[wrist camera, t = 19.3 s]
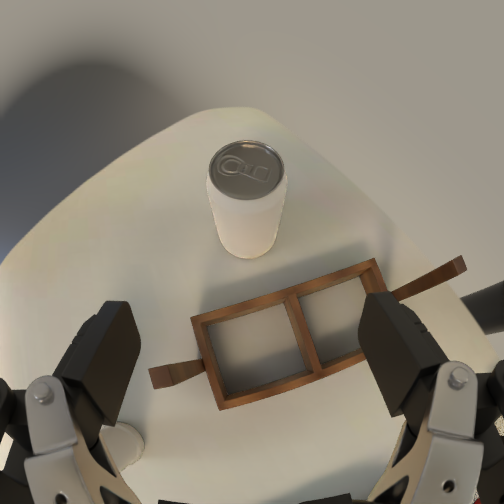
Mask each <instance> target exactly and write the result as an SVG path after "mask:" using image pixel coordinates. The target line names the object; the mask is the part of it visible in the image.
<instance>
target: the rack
mask: <svg viewBox="0 0 504 504" xmlns="http://www.w3.org/2000/svg"><path fill="white" fill-rule="evenodd" d="M466 270H467V268H466V265H465V262H464V260H463V258H462V256H461V255H460V256H458V257H457V258H455V259H453V260H451V261H449V262H447V263H446V264H444V265H442V266H440V267H438V268H437V269H435V270H433V271H431V272H429V273H427V274H425V275H424V276H422V277H420V278H418V279H416V280H414V281H412V282H410V283H408V284H406V285H404V286H402V287H400V288H398V289H396V290H394V291H392V292H391V293H392V294H393V295H394V297H395V298H396V299H397V301H401V300H403V299H406V298H408V297H411V296H413V295H416V294H418V293H420V292H423V291H425V290H427V289H430V288H432V287H434V286H436V285H439V284H441V283H443V282H445V281H447V280H449V279H452V278H454V277H456V276H458V275H459V274H461V273H463V272H465V271H466ZM358 276H360V279H361V281H362V284H363V286H364V289H365V292H366V294H367V295H368V294H369V293H374V292H384V291H388V290H387V288H386V285H385V282H384V280H383V277H382V275H381V272H380V270H379V268H378V265H377V263H376V260H375V258H372V259H370V260H367V261H364V262H362V263H359V264H356V265H353V266H350V267H348V268H345V269H342V270H339V271H336V272H334V273H331V274H328V275H325V276H322V277H319V278H316V279H313V280H310V281H307V282H304V283H301V284H298V285H295V286H292V287H289V288H286V289H283V290H280V291H277V292H274V293H270V294H267V295H264V296H261V297H258V298H254V299H251V300H248V301H245V302H241V303H238V304H235V305H231V306H228V307H225V308H221V309H218V310H214V311H211V312H207V313H204V314H200V315H197V316H193V317H190V319H191V322H192V326H193V329H194V333H195V337H196V340H197V343H198V347H199V350H200V354H201V357H202V359H197V360H192V361H186V362H181V363H175V364H168V365H163V366H159V367H154V368H150V369H148V371H149V374H150V377H151V381H152V384H153V387H154V389H160V388H165V387H170V386H174V385H176V384H179V383H181V382H183V381H185V380H187V379H189V378H192V377H194V376H196V375H198V374H200V373H202V372H204V371H206V373H207V376H208V379H209V382H210V385H211V388H212V391H213V394H214V397H215V400H216V403H217V406H218V409H219V411H221V410H225V409H229V408H233V407H237V406H240V405H244V404H248V403H251V402H255V401H258V400H261V399H265V398H268V397H271V396H274V395H277V394H280V393H283V392H286V391H289V390H292V389H295V388H298V387H300V386H303V385H306V384H309V383H311V382H314V381H316V380H319V379H322V378H324V377H327V376H329V375H331V374H334V373H336V372H339V371H341V370H343V369H345V368H348V367H350V366H352V365H354V364H357V363H359V362H361V361H363V360H365V359H366V357H365V355H364V353H363V351H362V349H361V348H359V349H357V350H355V351H352V352H350V353H348V354H345V355H343V356H341V357H338V358H336V359H334V360H331V361H329V362H326V363H324V364H321V365H320V362H319V359H318V356H317V353H316V350H315V347H314V344H313V341H312V338H311V335H310V332H309V329H308V326H307V323H306V321H305V318H304V315H303V312H302V309H301V306H300V303H299V301H298V298H299V297H302V296H305V295H308V294H311V293H314V292H317V291H320V290H322V289H325V288H328V287H331V286H334V285H336V284H339V283H342V282H345V281H347V280H350V279H353V278H355V277H358ZM281 303H284V305H285V308H286V310H287V313H288V316H289V319H290V322H291V325H292V328H293V331H294V334H295V337H296V340H297V343H298V346H299V349H300V351H301V354H302V357H303V360H304V363H305V366H306V369H307V370H306V371H303V372H300V373H297V374H294V375H292V376H289V377H286V378H283V379H280V380H277V381H274V382H271V383H268V384H264V385H261V386H258V387H255V388H251V389H248V390H244V391H241V392H237V393H233V394H230V395H228V394H227V391H226V388H225V385H224V382H223V379H222V376H221V373H220V369H219V366H218V363H217V360H216V357H215V354H214V350H213V347H212V344H211V340H210V337H209V334H208V330H207V327H206V326H209V325H213V324H216V323H220V322H223V321H227V320H230V319H233V318H237V317H240V316H243V315H247V314H250V313H253V312H256V311H260V310H263V309H266V308H269V307H272V306H275V305H278V304H281Z"/></svg>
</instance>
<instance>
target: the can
mask: <svg viewBox="0 0 504 504" xmlns="http://www.w3.org/2000/svg"><path fill="white" fill-rule="evenodd" d="M206 186H207V192H208V197H209V201H210V205H211V209H212V213H213V217H214V220H215V224H216V228H217V232H218V235H219V238H220V241H221V243H222V245H223V247H224V248H225V249H226V250H227V251H228V252H229V253H231V254H232V255H234V256H236V257H239V258H244V259H251V258H256V257H259V256H261V255H263V254H265V253H266V252H267V251H269V250H270V248H271V247H272V246H273V244H274V242H275V240H276V236H277V232H278V228H279V224H280V219H281V215H282V210H283V205H284V200H285V195H286V190H287V176H286V172H285V170H284V164H283V161H282V159H281V157H280V155H279V154H278V153H277V152H276V151H275V150H274V149H273V148H271V147H270V146H268V145H266V144H264V143H261V142H257V141H250V140H244V141H237V142H233V143H230V144H228V145H226V146H224V147H223V148H221V149H220V150H219V151H217V153H216V154H215V155H214V156H213V158H212V159H211V162H210V165H209V172H208V175H207V180H206Z"/></svg>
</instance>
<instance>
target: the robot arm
mask: <svg viewBox="0 0 504 504" xmlns="http://www.w3.org/2000/svg"><path fill="white" fill-rule="evenodd" d="M421 322H422V321H421V320H420V319H419V317H418V316H417V315H416V314H415V312H414V311H412V310H411V309H410V308H408V307H407V306H405V305H404V304H400V303H399V302H398V301H397V299H396V298H395V297H394V295H393V294H392V293H391V292H390V291H384V292H374V293H369V294H368V295H367V296H366V299H365V304H364V308H363V312H362V316H361V320H360V324H359V328H358V340H359V344H360V346H361V349H362V351H363V353H364V355H365V357H366V359H367V362H368V364H369V366H370V368H371V371H372V373H373V375H374V377H375V380H376V382H377V384H378V387H379V389H380V391H381V394H382V396H383V398H384V401H385V403H386V405H387V408H388V410H389V413H390V415H391V418H392V417H396V416H399V415H402V414H404V416H405V418H406V420H405V422H404V423H403V426H402V429H401V432H400V434H399V437H398V440H397V443H396V445H395V448H394V451H393V453H392V456H391V458H390V461H389V463H388V465H387V468H386V470H385V472H384V473H383V475H382V476H381V478H380V479H379V480H378V482H377V483H376V485H375V486H374V488H373V490H372V491H371V493H370V495H369V497H368V499H367V501H366V500H352V499H351V495H350V493H347V494H343V495H338V496H334V497H329V498H324V499H318V500H312V501H305V502H302V503H299V504H472V503H473V500H474V496H475V492H476V488H477V492H478V495H479V499H480V502H481V504H504V444H503V442H502V439H501V437H500V435H499V433H498V430H497V428H496V426H495V424H494V422H495V421H496V420H497V419H498V418H499V417H500V416H501V415H502V416H503V418H504V360H501V361H499V362H498V364H497V365H496V367H495V368H494V370H493V371H492V373H477V374H475V373H474V371H473V370H472V369H471V368H470V367H469V366H468V365H466V364H464V363H462V362H459V361H449V359H448V358H447V356H446V355H445V353H444V352H443V350H442V349H441V348H440V346H439V345H438V343H437V342H436V341H435V339H434V338H433V336H432V335H431V334H430V332H428V331H427V328H426V327H425V325H424V324H422V323H421ZM140 349H141V339H140V335H139V332H138V329H137V326H136V323H135V320H134V317H133V314H132V310H131V307H130V305H129V303H128V302H127V301H106V302H105V303H104V304H103V306H102V307H101V309H100V310H99V312H98V313H97V315H95V314H94V315H93V316H92V317H91V318H89V319H88V320H87V321H86V322H84V323H83V325H82V326H81V328H80V330H79V331H78V333H77V336H75V338H74V339H73V341H72V344H70V346H69V347H68V349H67V351H66V352H65V354H64V356H63V357H62V359H61V361H60V362H59V364H58V366H57V368H56V369H55V371H54V373H53V375H52V376H42V377H39V378H37V379H36V380H34V381H33V382H32V383H31V384H30V385H29V387H28V388H27V390H11V388H10V387H9V386H8V385H7V383H6V382H5V381H4V380H3V379H2V378H0V443H1V441H2V438H3V435H4V433H5V432H6V433H7V434H8V435H9V436H10V437H11V438H12V439H13V443H12V446H11V449H10V452H9V455H8V458H7V461H6V464H5V467H4V469H3V470H2V471H0V504H142V503H141V502H140V500H139V499H138V497H137V496H136V495H135V493H134V492H133V491H132V490H131V489H130V487H129V486H128V485H127V484H126V483H125V481H124V480H123V478H122V476H121V474H120V472H119V470H118V468H117V466H116V464H115V462H114V460H113V458H112V456H111V454H110V452H109V450H108V447H107V445H106V443H105V441H104V438H103V436H102V434H101V433H100V429H101V426H102V425H106V426H111V427H115V424H116V421H117V418H118V415H119V411H120V408H121V405H122V402H123V399H124V396H125V393H126V390H127V387H128V384H129V381H130V378H131V376H132V373H133V370H134V367H135V364H136V362H137V359H138V356H139V353H140ZM158 504H187V503H179V502H171V501H165V500H158Z"/></svg>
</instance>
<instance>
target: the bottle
mask: <svg viewBox="0 0 504 504" xmlns="http://www.w3.org/2000/svg"><path fill="white" fill-rule="evenodd" d="M100 433H101V434H102V436H103V438H104V441H105V443H106V445H107V447H108V450H109V452H110V454H111V456H112V458H113V460H114V462H115V464H116V466H117V468H118V470H119V472H122V471H123V470H124V469H125V468H126V467H127V466H128V465H130V464H134V463H135V462H136V461H138V460H139V459H140V458H141V456H142V454H143V451H144V441H143V439H142V437H141V435H140V434H139V433H138V432H137V430H136V429H135V428H133V427H132V426H130V425H128V424H125V423H120V422H116V424H115V427H111V426H106V425H105V426H104V427H103V428H102V429H101V430H100Z"/></svg>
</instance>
